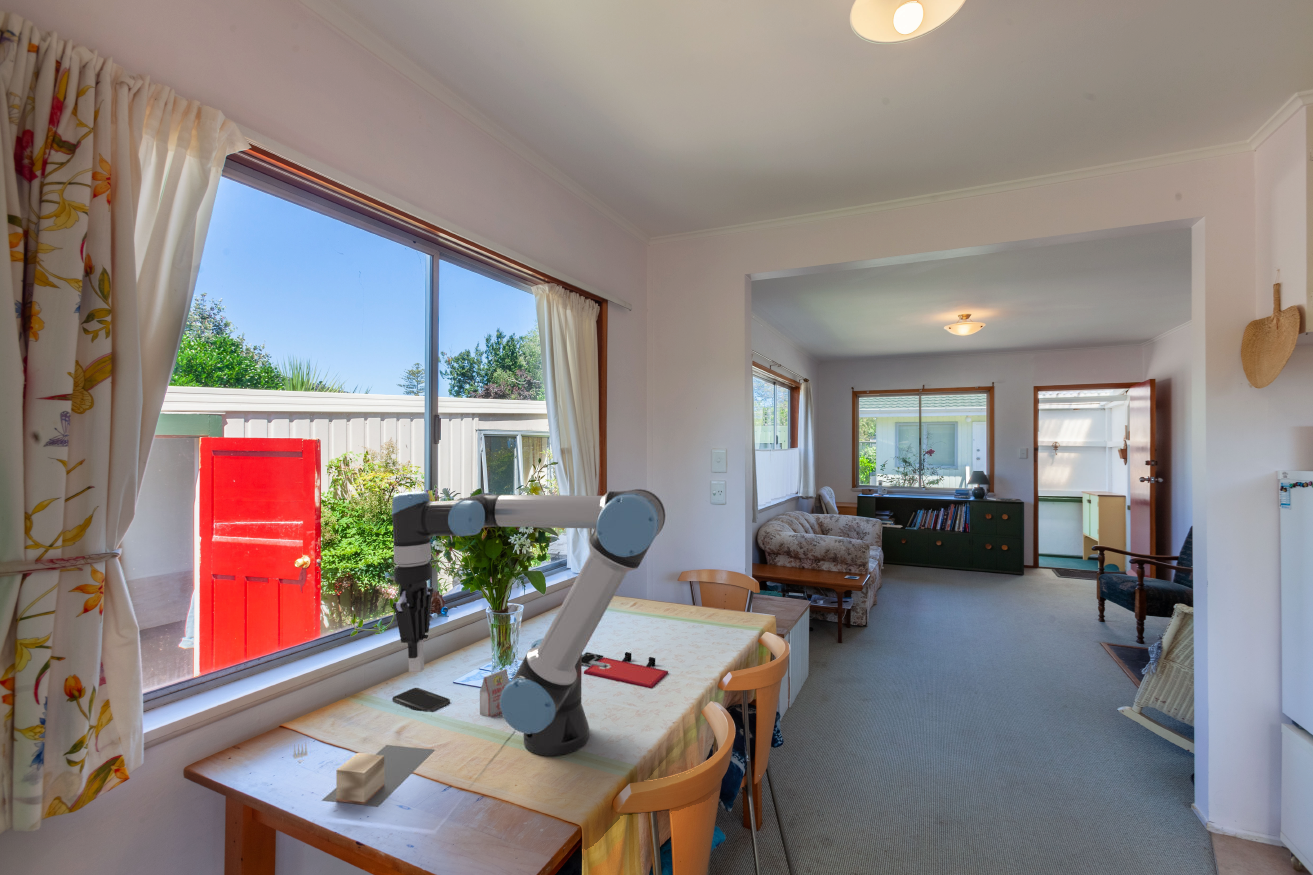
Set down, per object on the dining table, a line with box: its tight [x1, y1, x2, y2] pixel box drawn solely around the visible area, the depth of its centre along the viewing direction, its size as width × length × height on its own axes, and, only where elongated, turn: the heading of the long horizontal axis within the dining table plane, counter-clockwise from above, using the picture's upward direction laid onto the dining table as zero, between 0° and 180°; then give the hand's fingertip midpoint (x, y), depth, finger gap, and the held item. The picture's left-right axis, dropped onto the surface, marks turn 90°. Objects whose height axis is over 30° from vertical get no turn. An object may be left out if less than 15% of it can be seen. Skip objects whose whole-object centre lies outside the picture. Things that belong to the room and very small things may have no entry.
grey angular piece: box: [479, 668, 510, 718], centre depth 147 cm, size 4×7×10 cm, turn 141°
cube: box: [335, 752, 384, 804], centre depth 113 cm, size 6×6×6 cm
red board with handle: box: [582, 651, 669, 690], centre depth 174 cm, size 30×3×15 cm
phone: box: [392, 687, 451, 713], centre depth 153 cm, size 8×1×15 cm
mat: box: [321, 744, 435, 808], centre depth 119 cm, size 12×20×1 cm, turn 171°
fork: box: [293, 741, 308, 764], centre depth 122 cm, size 3×16×2 cm, turn 34°
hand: (416, 670), depth 125 cm, fingers closed
